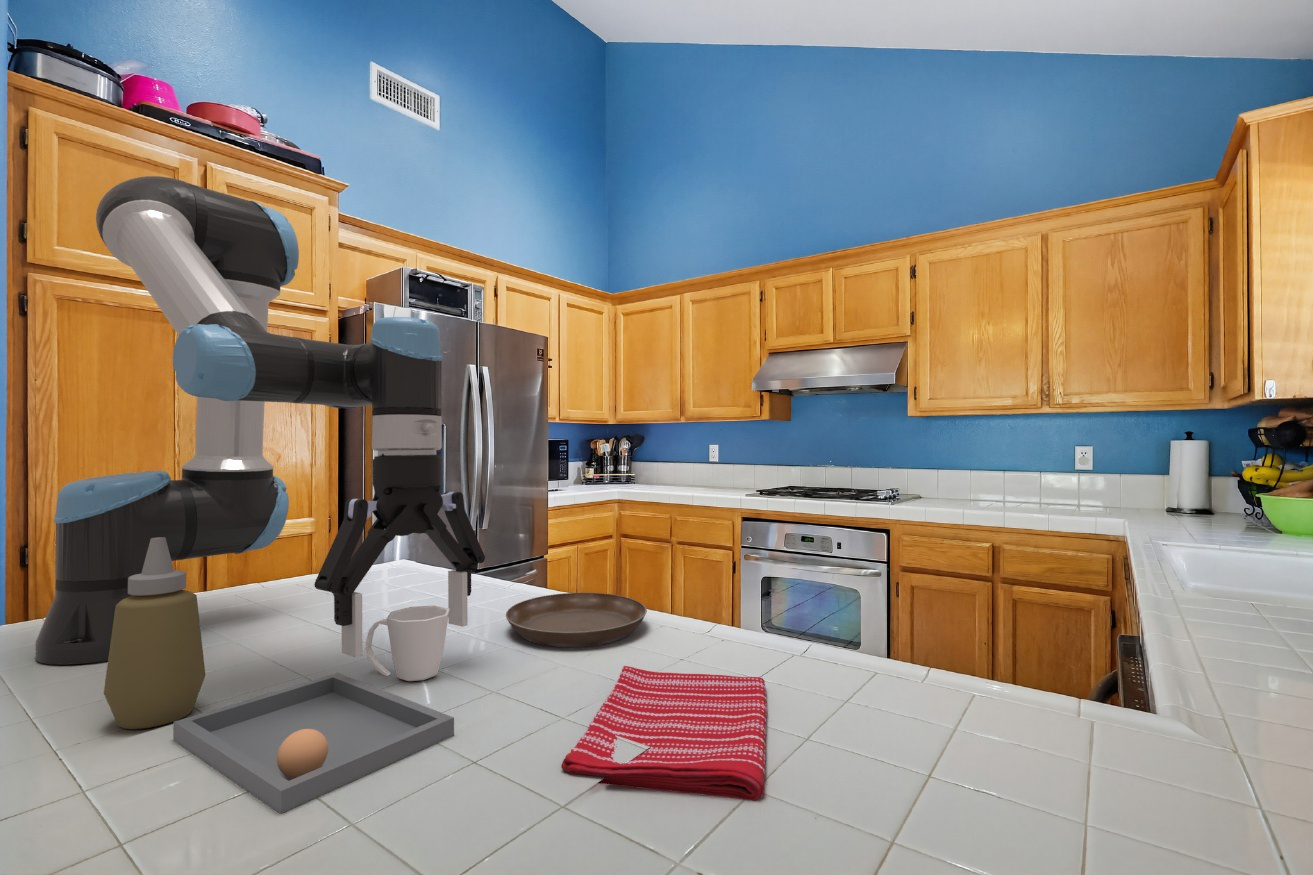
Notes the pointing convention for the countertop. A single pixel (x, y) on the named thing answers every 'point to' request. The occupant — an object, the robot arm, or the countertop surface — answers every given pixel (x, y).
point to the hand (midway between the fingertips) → (409, 638)
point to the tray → (337, 706)
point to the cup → (413, 641)
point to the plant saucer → (576, 619)
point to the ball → (302, 753)
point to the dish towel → (680, 734)
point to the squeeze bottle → (155, 646)
